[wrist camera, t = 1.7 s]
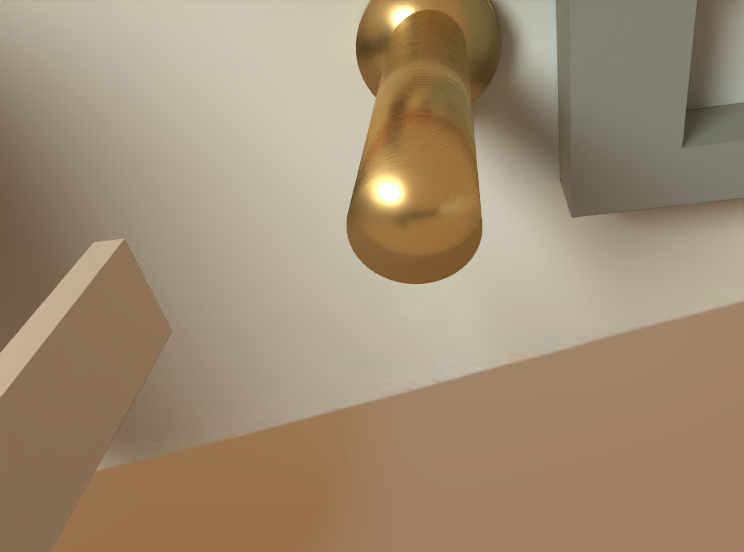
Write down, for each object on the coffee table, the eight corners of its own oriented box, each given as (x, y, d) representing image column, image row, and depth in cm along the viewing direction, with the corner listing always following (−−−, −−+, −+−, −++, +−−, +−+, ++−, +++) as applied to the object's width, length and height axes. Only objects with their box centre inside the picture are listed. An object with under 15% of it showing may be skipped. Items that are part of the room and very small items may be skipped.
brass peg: (373, 118, 27) (322, 334, 16) (345, -19, 24) (256, 131, 13) (503, 98, 26) (547, 314, 15) (492, -48, 23) (538, 87, 12)
